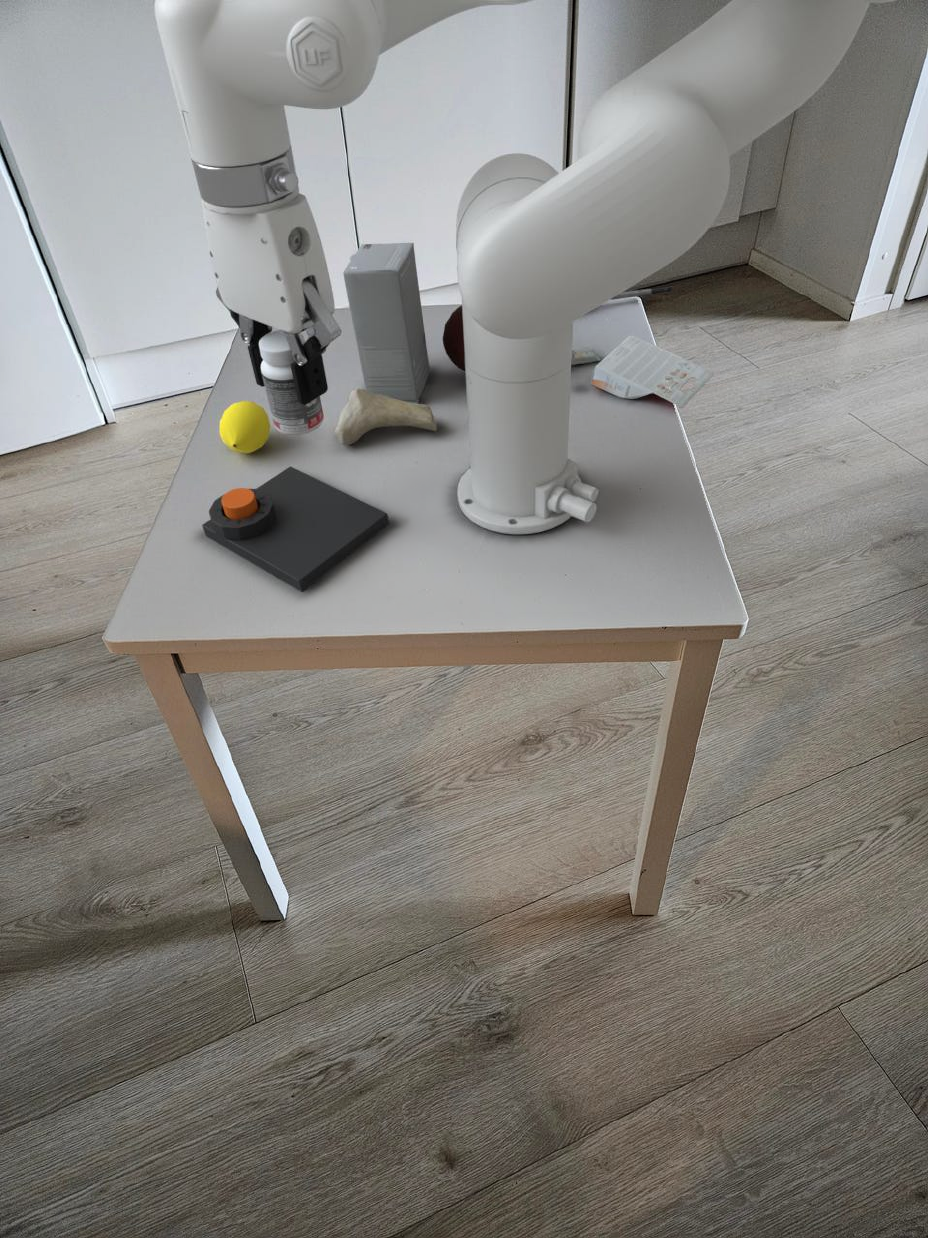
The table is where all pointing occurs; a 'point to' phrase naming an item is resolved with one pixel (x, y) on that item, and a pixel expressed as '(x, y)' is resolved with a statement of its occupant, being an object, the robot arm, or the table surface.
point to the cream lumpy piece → (379, 415)
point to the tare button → (239, 503)
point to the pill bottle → (286, 388)
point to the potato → (455, 339)
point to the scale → (297, 527)
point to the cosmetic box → (388, 320)
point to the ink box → (648, 372)
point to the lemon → (244, 427)
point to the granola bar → (584, 356)
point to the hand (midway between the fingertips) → (292, 386)
